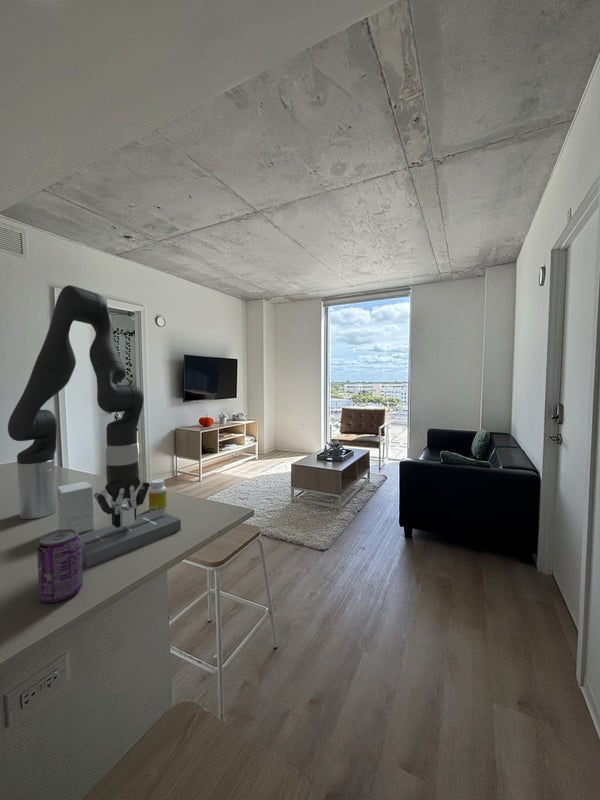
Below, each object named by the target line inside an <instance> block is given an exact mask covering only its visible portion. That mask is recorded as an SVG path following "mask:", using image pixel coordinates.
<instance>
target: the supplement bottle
mask: <svg viewBox="0 0 600 800" xmlns="http://www.w3.org/2000/svg"><path fill="white" fill-rule="evenodd" d="M167 498H168V497H167V487H166V486H165V480H164V479H159V478H158V479H153V480H151V481H150V487H149V488H148V511H149V512H152V511H155V510H160V511H162V512H165V510H167V508H168V507H167V506H168V505H167V504H168V503H167V502H168V501H167Z"/></svg>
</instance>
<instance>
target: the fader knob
mask: <svg viewBox="0 0 600 800" xmlns="http://www.w3.org/2000/svg"><path fill="white" fill-rule="evenodd" d="M119 513H120V526H122V529H126V528H127V526H128V525H131V524H134V523H135V518H134V508H132V507H130V506H128V504H126V503H125V504H121V505H120V511H119Z"/></svg>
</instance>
